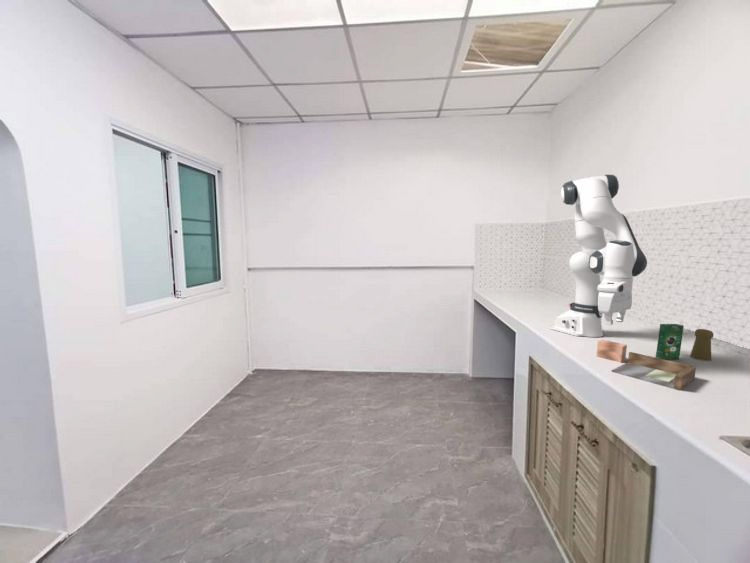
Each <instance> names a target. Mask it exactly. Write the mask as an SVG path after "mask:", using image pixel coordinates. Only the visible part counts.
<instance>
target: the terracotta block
mask: <svg viewBox="0 0 750 563" xmlns="http://www.w3.org/2000/svg"><path fill="white" fill-rule="evenodd" d="M627 347H628V345H627V344H624V343H619V342H615V341H611V340H606V339H600V340H598V341H597V348H596V358H602V359H605V360H609V361H613V362H616V363H620V364H621V363H623V362H626V357H627V349H628V348H627Z"/></svg>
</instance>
